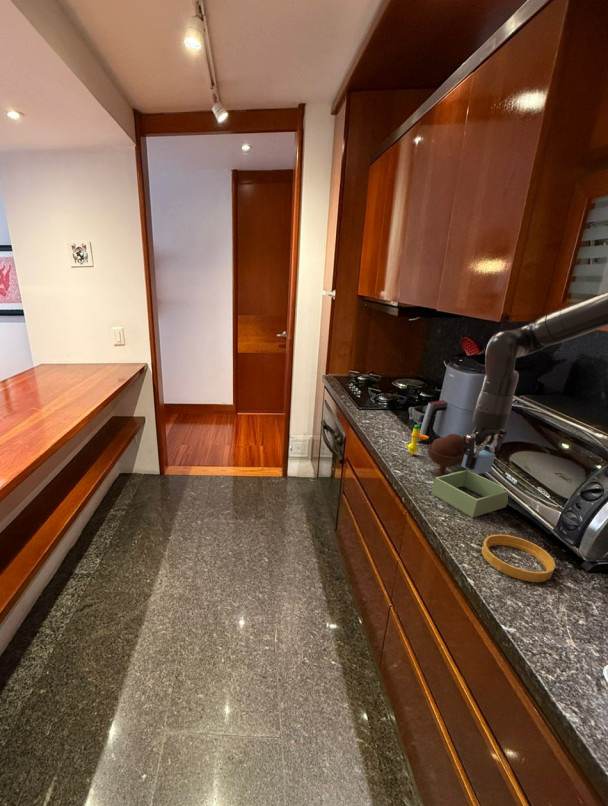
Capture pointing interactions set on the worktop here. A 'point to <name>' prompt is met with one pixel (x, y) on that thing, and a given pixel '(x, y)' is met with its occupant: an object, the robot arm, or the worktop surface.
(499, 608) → the worktop surface
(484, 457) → the toy block
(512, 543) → the wide orange band ring
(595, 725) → the worktop surface
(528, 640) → the worktop surface
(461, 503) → the sage bin
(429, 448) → the ice cream bowl
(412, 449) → the toy figure
